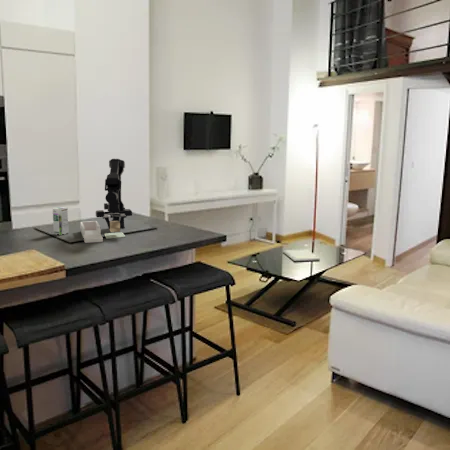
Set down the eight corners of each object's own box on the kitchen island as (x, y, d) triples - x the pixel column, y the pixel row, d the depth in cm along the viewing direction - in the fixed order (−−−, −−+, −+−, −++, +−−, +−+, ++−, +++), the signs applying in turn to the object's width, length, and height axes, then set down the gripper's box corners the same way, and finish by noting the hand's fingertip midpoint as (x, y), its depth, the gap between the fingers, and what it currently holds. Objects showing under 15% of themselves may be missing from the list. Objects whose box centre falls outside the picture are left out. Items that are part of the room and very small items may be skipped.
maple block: (118, 229, 255) (118, 220, 254) (120, 231, 251) (119, 222, 250) (109, 230, 254) (109, 221, 252) (110, 232, 249) (110, 223, 248)
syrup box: (53, 234, 255) (51, 208, 252) (61, 232, 260) (60, 206, 257) (60, 235, 252) (59, 209, 249) (69, 233, 257) (67, 207, 254)
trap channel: (97, 230, 266) (96, 220, 264) (102, 241, 241) (102, 231, 240) (80, 231, 262) (80, 221, 261) (84, 242, 238) (84, 232, 237)
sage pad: (122, 233, 260) (122, 232, 260) (125, 237, 251) (125, 236, 251) (104, 234, 256) (104, 233, 256) (106, 238, 247) (106, 237, 247)
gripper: (128, 197, 260) (129, 224, 264) (94, 198, 254) (95, 226, 257) (132, 200, 250) (132, 228, 253) (96, 202, 243) (97, 231, 247)
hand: (114, 228), depth 253 cm, fingers closed on maple block, 5 cm apart
